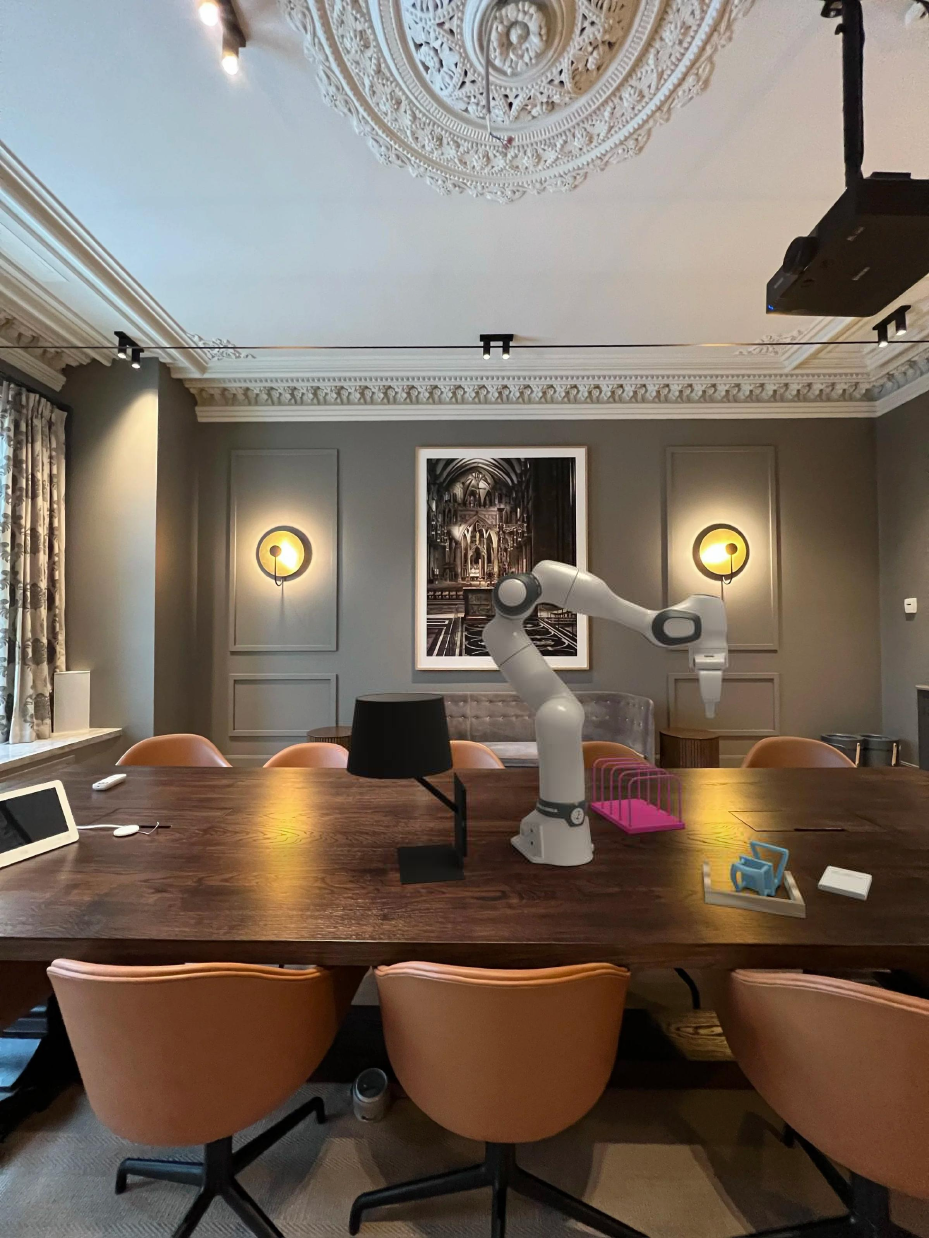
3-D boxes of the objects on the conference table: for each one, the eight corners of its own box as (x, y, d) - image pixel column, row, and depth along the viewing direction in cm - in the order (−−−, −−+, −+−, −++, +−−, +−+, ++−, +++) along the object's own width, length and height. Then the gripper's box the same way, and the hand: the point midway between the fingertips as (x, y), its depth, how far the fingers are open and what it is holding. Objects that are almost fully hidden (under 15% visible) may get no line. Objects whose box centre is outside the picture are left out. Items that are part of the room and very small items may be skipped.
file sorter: (640, 804, 179) (638, 755, 180) (685, 829, 155) (684, 772, 155) (590, 807, 176) (589, 758, 176) (629, 834, 151) (627, 776, 152)
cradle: (703, 871, 126) (702, 860, 126) (790, 883, 120) (790, 871, 120) (705, 902, 111) (705, 890, 111) (805, 918, 104) (804, 904, 105)
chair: (754, 876, 123) (727, 897, 116) (751, 839, 123) (724, 858, 116) (791, 888, 117) (766, 911, 110) (788, 849, 117) (762, 870, 109)
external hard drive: (818, 891, 117) (827, 872, 126) (865, 902, 111) (872, 881, 121) (817, 883, 117) (827, 864, 126) (865, 894, 112) (871, 874, 121)
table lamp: (473, 882, 122) (471, 700, 123) (343, 893, 117) (343, 704, 119) (456, 841, 147) (455, 690, 149) (348, 849, 142) (348, 693, 144)
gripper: (693, 659, 146) (695, 711, 145) (695, 661, 127) (696, 722, 126) (720, 659, 144) (721, 712, 143) (725, 661, 125) (727, 723, 124)
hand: (710, 717), depth 135 cm, fingers closed
